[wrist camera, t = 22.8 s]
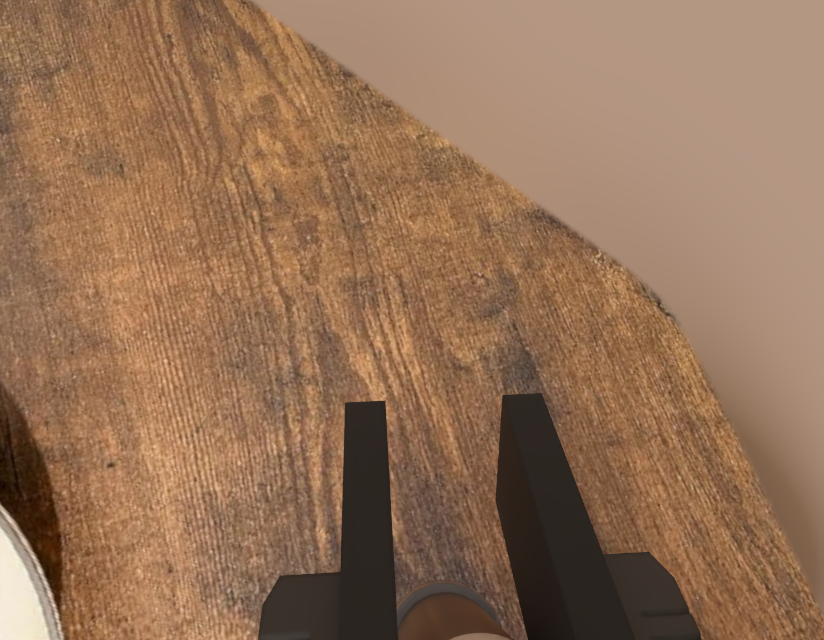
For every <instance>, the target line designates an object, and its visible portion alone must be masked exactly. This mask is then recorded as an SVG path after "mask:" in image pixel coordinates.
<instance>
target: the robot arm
mask: <svg viewBox="0 0 824 640" xmlns="http://www.w3.org/2000/svg"><path fill="white" fill-rule="evenodd" d="M496 504H497V508H498V513H499V517H500V521H501V526H502V530H503V534H504V538H505V543H506V547H507V551H508V556H509V560H510V564H511V568H512V573H513V577H514V581H515V585H516V590H517V594H518V598H519V603H520V607H521V611H522V615H523V620H524V624H525V628H526V633H527V637H528V640H702V639H701V633H700V631H699V629H698V627H697V625H696V623H695V621H694V618H693V616H692V614H689V610H688V609H689V608H688V606H687V604H686V602H685V600H684V597H683V595H682V593H681V591H680V589H679V587H678V585H677V583H676V581H675V579H674V577H673V576H672V575H671V574H670V573H669V572H668V571H667V570H666V569H665V568H664V567H663V566H662V565H661V564H660V563H659V562H658V561H657V560H656V559H655V558H654V557H653V556H652V555H651V554H650V553H649V552H640V553H623V554H606V555H603V553H602V550H601V547H600V545H599V542H598V539H597V537H596V534H595V532H594V529H593V526H592V524H591V521H590V519H589V516H588V513H587V511H586V508H585V506H584V503H583V500H582V498H581V495H580V492H579V490H578V487H577V485H576V482H575V479H574V477H573V474H572V472H571V469H570V466H569V464H568V461H567V458H566V456H565V453H564V451H563V448H562V445H561V443H560V440H559V438H558V435H557V432H556V430H555V427H554V425H553V422H552V419H551V417H550V414H549V411H548V409H547V406H546V404H545V401H544V398H543V396H542V393H537V394H516V395H502V411H501V426H500V441H499V457H498V472H497V487H496ZM258 640H398V627H397V609H396V590H395V572H394V553H393V535H392V516H391V498H390V479H389V461H388V442H387V424H386V405H385V401H369V402H348V403H345V431H344V466H343V501H342V536H341V571H340V572H335V573H318V574H302V575H285V576H280V577H279V579H278V580H277V582H276V584H275V585H274V587H273V589H272V590H271V592H270V594H269V595H268V597H267V599H266V600H265V602H264V604H263V607H262V614H261V621H260V628H259V635H258Z"/></svg>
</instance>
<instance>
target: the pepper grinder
mask: <svg viewBox="0 0 824 640" xmlns="http://www.w3.org/2000/svg"><path fill="white" fill-rule="evenodd" d="M396 609H397V627H398V640H514V639H513V638H512V637H510V636H509V635H508V634H507V633H506V632H505V631H504V630H503V629H502V626H501V623H500V621H499V618H498V616H497V614H496V613H495V611H494V609H493V608H492V606H491V605H490V604H489V603H488V602H487V600H486V599H485V598H484V597H483V596H481V595H480V594H479V593H478V592H477V591H475V590H474V589H472V588H470V587H469V586H467V585H464V584H462V583H459V582H456V581H450V580H437V581H431V582H428V583H425V584H422V585H420V586H418V587H416V588H415V589H413V590H412V591H410V592H409V593H408V594H407V595H406V596H405V597H404V598H403V599H402V600H401V601H400V602H399V604H398V605H397V606H396Z"/></svg>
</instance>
